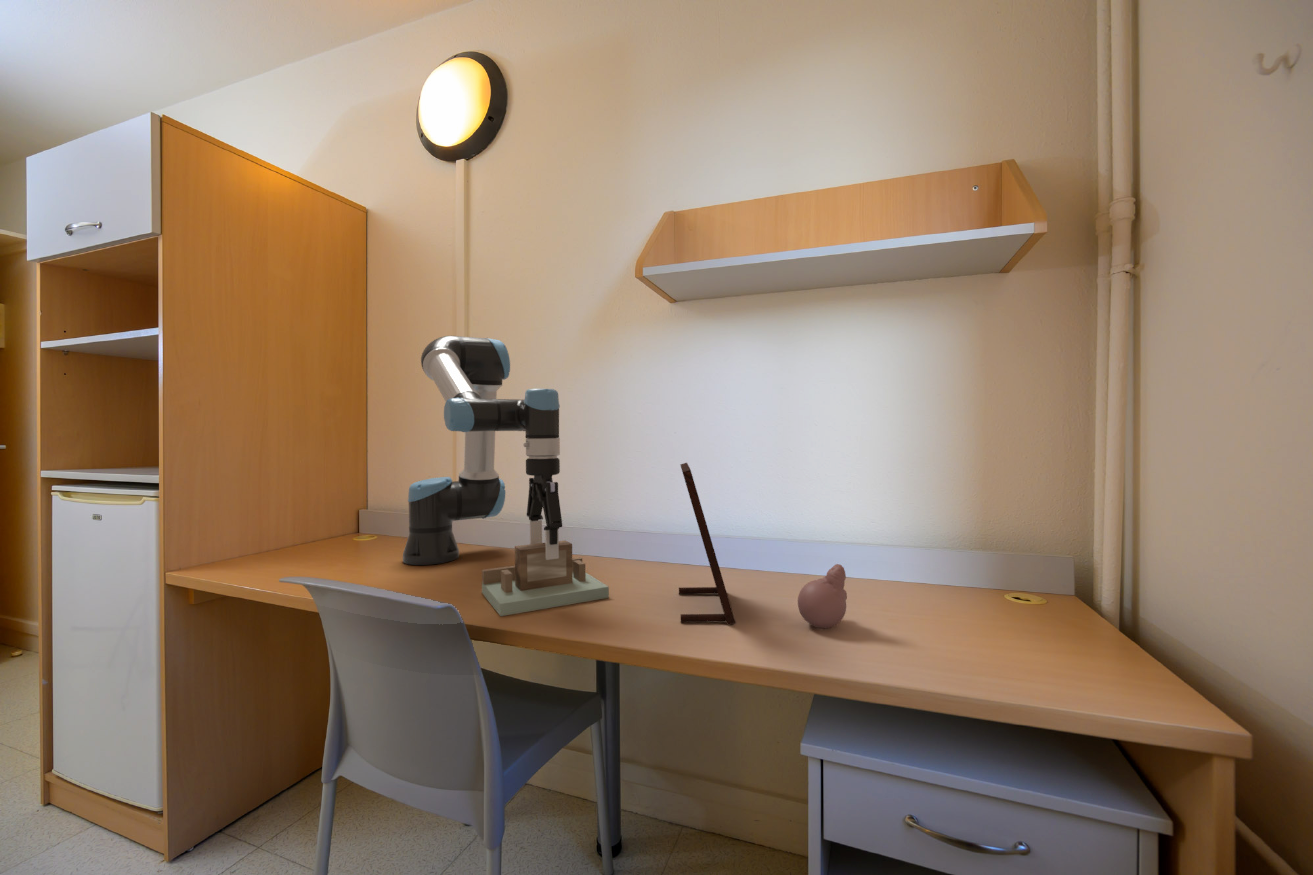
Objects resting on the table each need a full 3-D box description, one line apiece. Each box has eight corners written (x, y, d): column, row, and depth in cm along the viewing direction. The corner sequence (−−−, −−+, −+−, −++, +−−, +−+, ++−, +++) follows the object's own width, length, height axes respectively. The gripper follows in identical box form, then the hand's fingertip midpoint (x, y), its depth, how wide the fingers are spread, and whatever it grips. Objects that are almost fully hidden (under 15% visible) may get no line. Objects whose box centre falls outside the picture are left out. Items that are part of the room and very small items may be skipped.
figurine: (853, 620, 110) (853, 559, 109) (839, 638, 100) (840, 572, 100) (808, 612, 114) (808, 554, 114) (791, 629, 105) (791, 566, 104)
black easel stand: (735, 624, 107) (734, 469, 107) (680, 625, 107) (679, 470, 107) (724, 592, 128) (723, 462, 127) (678, 592, 128) (677, 462, 128)
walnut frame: (515, 585, 126) (514, 546, 125) (565, 578, 132) (565, 540, 131) (520, 591, 122) (520, 550, 121) (572, 583, 128) (572, 543, 127)
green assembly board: (482, 592, 129) (481, 565, 129) (579, 578, 140) (579, 552, 140) (500, 616, 113) (500, 584, 113) (608, 597, 125) (608, 568, 124)
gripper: (512, 455, 134) (513, 545, 135) (542, 460, 114) (543, 566, 114) (543, 454, 138) (544, 542, 139) (577, 459, 117) (578, 562, 118)
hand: (543, 553), depth 126 cm, fingers open, 11 cm apart
